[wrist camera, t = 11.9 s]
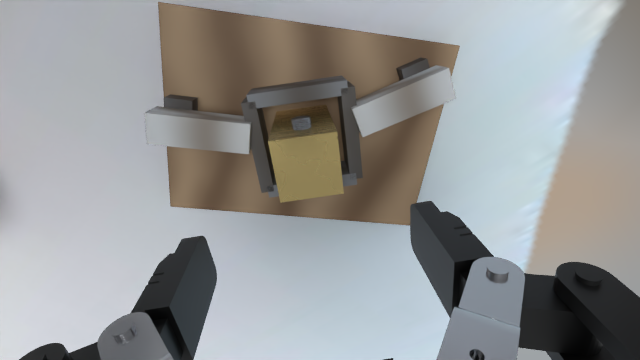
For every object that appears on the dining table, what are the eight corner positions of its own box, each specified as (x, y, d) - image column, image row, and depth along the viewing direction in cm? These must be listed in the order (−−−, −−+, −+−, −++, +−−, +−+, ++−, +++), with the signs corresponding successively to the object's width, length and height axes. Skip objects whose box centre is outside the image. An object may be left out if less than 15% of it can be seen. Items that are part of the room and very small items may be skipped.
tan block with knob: (286, 165, 28) (282, 211, 21) (274, 104, 26) (265, 131, 18) (332, 158, 28) (344, 201, 21) (325, 96, 26) (336, 121, 18)
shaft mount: (176, 198, 30) (154, 228, 25) (166, 3, 24) (134, -4, 19) (405, 217, 32) (423, 247, 28) (451, 45, 26) (484, 47, 22)
